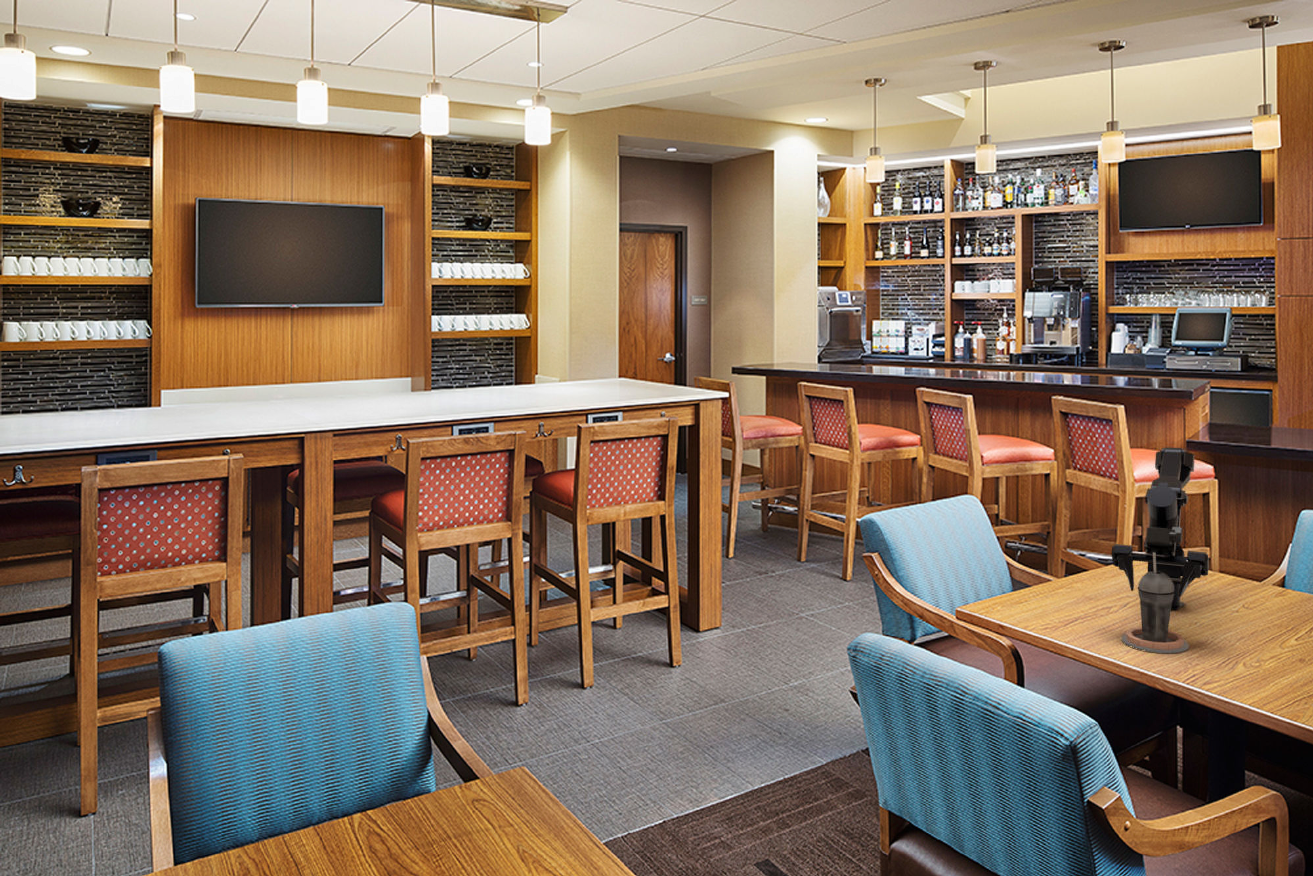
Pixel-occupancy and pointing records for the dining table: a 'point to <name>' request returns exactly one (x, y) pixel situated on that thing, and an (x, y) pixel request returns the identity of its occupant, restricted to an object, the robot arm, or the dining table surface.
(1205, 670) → the dining table surface
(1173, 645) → the cup holder
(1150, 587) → the beverage cup
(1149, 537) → the robot arm
